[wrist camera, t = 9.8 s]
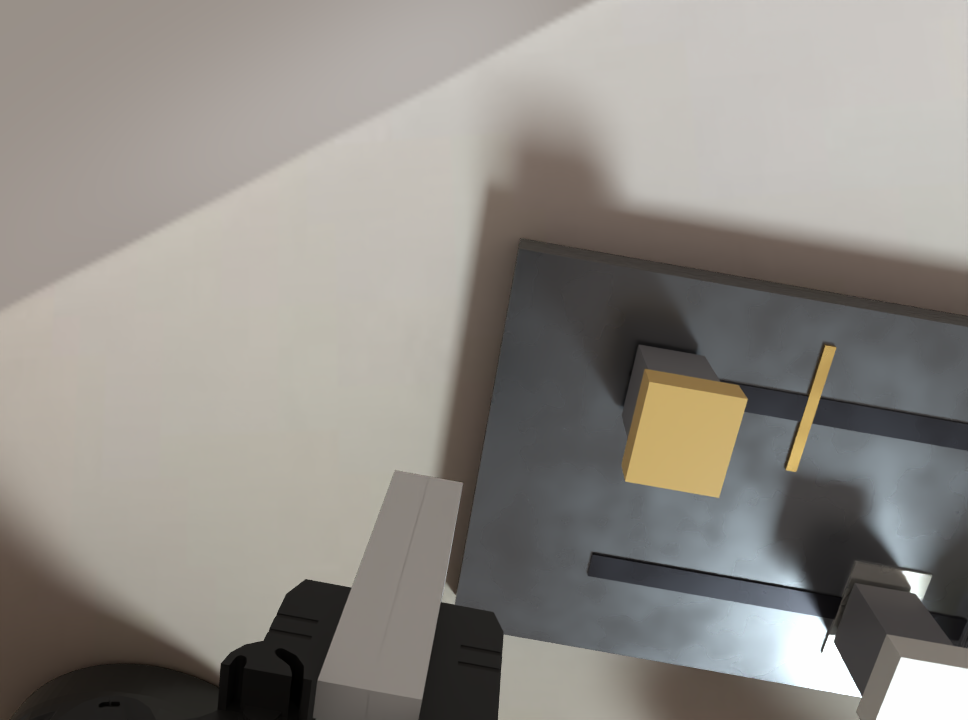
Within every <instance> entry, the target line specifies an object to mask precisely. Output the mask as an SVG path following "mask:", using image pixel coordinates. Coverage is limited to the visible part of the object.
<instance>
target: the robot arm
mask: <svg viewBox="0 0 968 720" xmlns="http://www.w3.org/2000/svg"><path fill="white" fill-rule="evenodd" d="M462 487H463V483H462V482H457V481H451V480H446V479H440V478H435V477H429V476H424V475H419V474H413V473H408V472H402V471H397V470H395V472H394V475H393V477H392V480H391V483H390V485H389V488H388V491H387V493H386V496H385V499H384V502H383V504H382V507H381V510H380V512H379V515H378V518H377V521H376V523H375V526H374V529H373V531H372V534H371V537H370V539H369V542H368V545H367V548H366V550H365V553H364V556H363V558H362V561H361V564H360V567H359V569H358V572H357V575H356V577H355V580H354V583H353V585H352V588H350V587H345V586H340V585H334V584H329V583H323V582H318V581H312V580H307V579H305V580H304V581H303V582H301V583H300V584H299V585H298V586H296V587H295V588H294V589H292V590H291V591H290V592H288V593H287V594H286V596H285V598H284V600H283V602H282V604H281V606H280V608H279V610H278V612H277V616H276V617H275V618H274V620H273V623H272V625H271V627H270V629H269V632H268V633H267V635H266V637H265V639H264V641H260V642H256V643H251V644H246V645H244V646H242V647H240V648H238V649H236V650H234V651H233V652H231V653H230V654H229V655H228V656H227V657H226V658H225V660H224V661H223V662H222V663H221V669H220V682H219V688H218V687H216V686H214V685H211V684H209V683H207V682H205V681H203V680H200V679H198V678H195V677H193V676H190V675H187V674H184V673H181V672H177V671H173V670H170V669H165V668H160V667H154V666H148V665H137V664H109V665H100V666H94V667H88V668H84V669H80V670H77V671H74V672H71V673H68V674H65V675H63V676H61V677H58V678H56V679H54V680H52V681H50V682H49V683H47V684H45V685H44V686H42V687H41V688H39V689H38V690H37V691H36V692H34V693H33V694H32V695H31V696H30V697H29V698H28V699H27V700H26V701H25V702H24V703H23V704H22V705H21V706H20V708H19V709H18V710H17V711H16V713H15V714H14V715H13V716H12V717H11V719H10V720H498V708H499V693H500V678H501V663H502V648H503V633H504V632H503V630H502V628H501V626H500V624H499V622H498V620H497V618H496V616H495V614H494V612H491V611H486V610H480V609H475V608H470V607H464V606H459V605H453V604H448V603H442V597H443V592H444V586H445V581H446V575H447V570H448V564H449V559H450V553H451V547H452V542H453V536H454V531H455V525H456V520H457V514H458V509H459V503H460V498H461V492H462Z"/></svg>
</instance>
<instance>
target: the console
mask: <svg viewBox="0 0 968 720" xmlns="http://www.w3.org/2000/svg"><path fill="white" fill-rule="evenodd" d="M638 345H645V346H651V347H656V348H662V349H668V350H674V351H679V352H685V353H691V354H696V355H702V356H705V357H706V359H707V360H708V362H709V364H710V365H711V367H712V369H713V370H714V372H715V374H716V375H717V377H718V379H719V380H720V382H724V383H729V384H735V385H739V386H740V388H741V390H742V391H743V393H744V394H745V396H746V397H747V399H748V400H747V404H746V407H745V410H744V414H743V417H742V421H741V424H740V428H739V431H738V434H737V438H736V441H735V445H734V448H733V452H732V455H731V458H730V462H729V465H728V469H727V472H726V476H725V479H724V483H723V486H722V489H721V493H720V496H719V498H716V497H711V496H705V495H699V494H694V493H688V492H682V491H676V490H671V489H665V488H659V487H654V486H648V485H642V484H637V483H631V482H625V479H624V475H623V470H622V465H621V464H622V460H623V456H624V452H625V447H626V443H627V435H626V431H625V427H624V423H623V419H622V412H623V408H624V403H625V399H626V395H627V391H628V387H629V382H630V378H631V374H632V370H633V366H634V361H635V357H636V353H637V349H638ZM854 583H858V584H864V585H870V586H875V587H881V588H887V589H892V590H898V591H904V592H909V593H915V594H916V595H917V596H918V598H919V599H920V600H921V602H922V603H923V604H924V606H925V607H926V609H927V610H928V611H929V613H930V614H931V615H932V617H933V618H934V619H935V621H936V622H937V623H938V625H939V626H940V628H941V629H942V630H943V632H944V633H945V634H946V636H947V637H948V638H949V640H950V641H951V642H952V644H953V645H954V646H957V647H962V648H968V316H963V315H957V314H951V313H946V312H940V311H934V310H929V309H923V308H917V307H911V306H906V305H900V304H894V303H888V302H883V301H877V300H871V299H865V298H860V297H854V296H848V295H842V294H837V293H831V292H825V291H820V290H814V289H808V288H802V287H797V286H791V285H785V284H779V283H774V282H768V281H762V280H756V279H751V278H745V277H739V276H733V275H728V274H722V273H716V272H711V271H705V270H699V269H693V268H688V267H682V266H676V265H670V264H665V263H659V262H653V261H647V260H642V259H636V258H630V257H624V256H619V255H613V254H607V253H602V252H596V251H590V250H584V249H579V248H573V247H567V246H561V245H556V244H550V243H544V242H538V241H533V240H527V239H521V238H520V243H519V248H518V254H517V259H516V265H515V271H514V276H513V282H512V287H511V293H510V298H509V304H508V310H507V315H506V321H505V326H504V332H503V337H502V343H501V349H500V354H499V360H498V365H497V371H496V376H495V382H494V387H493V393H492V399H491V404H490V410H489V415H488V421H487V426H486V432H485V438H484V443H483V449H482V454H481V460H480V465H479V471H478V477H477V482H476V488H475V493H474V499H473V504H472V510H471V515H470V521H469V527H468V532H467V538H466V543H465V549H464V554H463V560H462V566H461V571H460V577H459V582H458V588H457V593H456V599H455V605H459V606H464V607H470V608H475V609H480V610H486V611H491V612H494V614H495V616H496V618H497V620H498V622H499V624H500V626H501V628H502V630H503V632H504V633H503V634H505V635H511V636H517V637H522V638H528V639H534V640H539V641H545V642H551V643H556V644H562V645H568V646H573V647H579V648H585V649H590V650H596V651H602V652H607V653H613V654H619V655H624V656H630V657H636V658H641V659H647V660H653V661H658V662H664V663H670V664H676V665H681V666H687V667H693V668H698V669H704V670H710V671H715V672H721V673H727V674H732V675H738V676H744V677H749V678H755V679H761V680H766V681H772V682H778V683H783V684H789V685H795V686H800V687H806V688H812V689H817V690H823V691H829V692H834V693H840V694H846V695H851V696H857V697H862V696H861V694H860V692H859V690H858V688H857V687H856V685H855V683H854V681H853V679H852V677H851V675H850V673H849V671H848V669H847V668H846V666H845V664H844V662H843V660H842V658H841V656H840V654H839V652H838V650H837V649H836V647H835V645H834V643H833V640H834V638H835V635H836V632H837V629H838V627H839V624H840V621H841V618H842V616H843V613H844V610H845V608H846V605H847V602H848V599H849V597H850V594H851V591H852V589H853V586H854Z"/></svg>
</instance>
